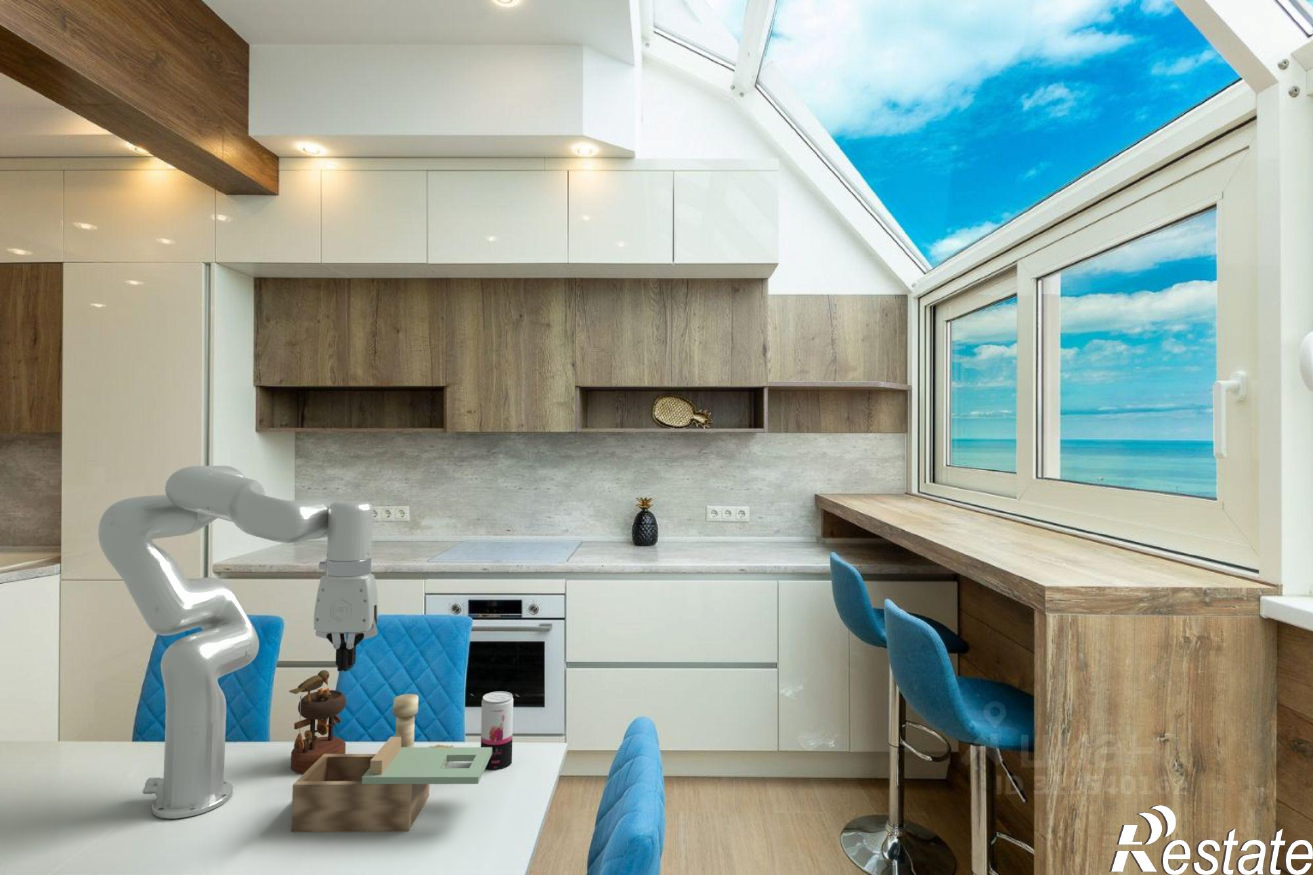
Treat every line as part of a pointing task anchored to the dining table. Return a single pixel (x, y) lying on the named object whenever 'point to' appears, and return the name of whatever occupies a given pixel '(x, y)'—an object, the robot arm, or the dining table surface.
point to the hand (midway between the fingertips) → (345, 668)
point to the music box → (318, 709)
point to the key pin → (405, 717)
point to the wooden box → (352, 798)
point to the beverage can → (497, 728)
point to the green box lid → (425, 764)
